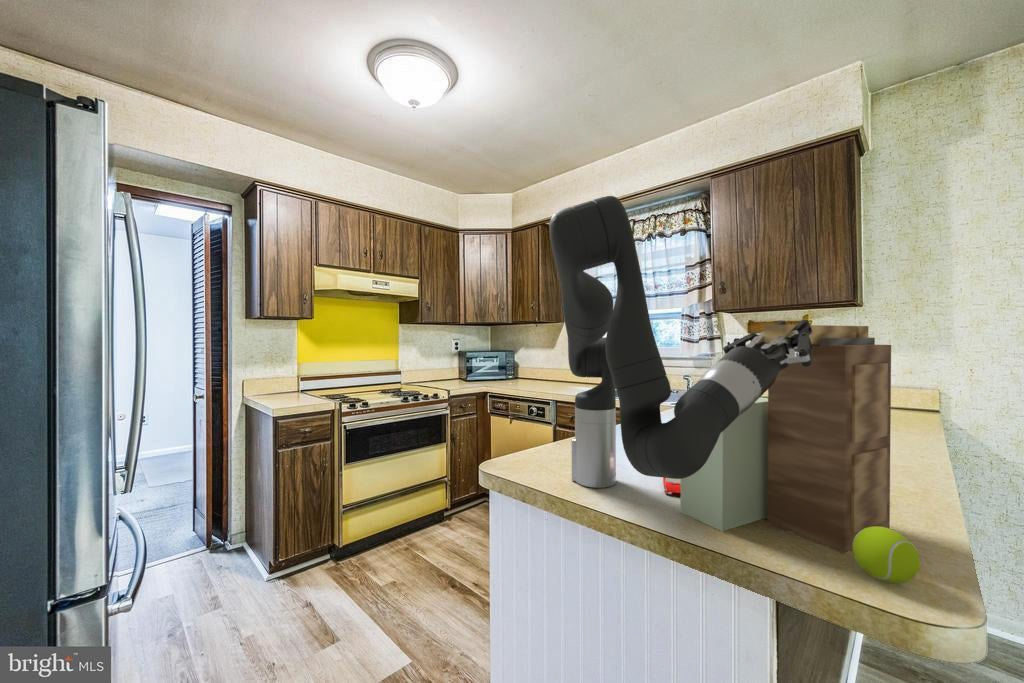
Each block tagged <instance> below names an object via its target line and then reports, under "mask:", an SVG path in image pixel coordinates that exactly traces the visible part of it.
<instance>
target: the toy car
mask: <svg viewBox="0 0 1024 683" xmlns="http://www.w3.org/2000/svg"><path fill="white" fill-rule="evenodd" d="M662 484H663V489H665V490H664V493H666V494H665V495H666V496H668V495H669V497H674V496H676V498H681V479H672V478H663V477H662Z"/></svg>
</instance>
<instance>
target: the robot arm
mask: <svg viewBox="0 0 1024 683" xmlns="http://www.w3.org/2000/svg"><path fill="white" fill-rule="evenodd" d="M548 230H549V239H550V245H551V248H552V249H551V250H552V255H553V258H554V262H555V266H556V272H557V275H558V279H559V284H560V292H561V304H562V313H563V321H564V324H565V325H564V327H565V329H566V330H565V331H566V335H567V354H568V358H567V359H568V366H569V369H570V371H571V373H572V374H573V375H574V376H575V377H578V378H601V381H600V383H599V384H598V385H595V386H594V387H592V388H590V389H588V390H585V391H581V392H578V393H577V394H576V395H575V397H574V432H575V433H574V438H573V439H571V481H573V482H576V483H577V484H578V485H581V486H583V487H587V488H593V489H594V488H595V489H596V488H597V489H599V488H602V489H603V488H610V487H612V486H614V485H616V483H617V469H616V468H617V459H616V458H617V455H616V454H617V449H616V448H617V446H616V444H617V438H616V437H617V436H616V434H617V431H616V429H617V428H616V427H617V422H616V421H617V420H616V419H617V418H616V416H617V415H616V414H617V413H616V411H617V410H616V408H617V407H616V405H617V404H616V395H617V397H618V401H619V420H620V421H619V422H620V433H621V441H622V447H623V451H624V453H625V455H626V457H627V460H628V461H629V463H630V465H631V466H632V467H633V469H634V470H636V471H637V472H638V473H639V474H641V475H644V476H647V477H653V478H662V479H663V478H672V479H682V478H686V477H689V476H691V475H693V474H694V473H696V472H697V471H698V470H700V469H701V468H702V467H703V466H704V464H705V463H706V462H707V460H708V458H709V456H710V454H711V452H712V450H713V448H714V447H715V445H716V443H717V440H718V438H719V436H720V433H721V432H723V431H724V430H725V429H726V428H727V427H728V426H729V425H730V424H731V423H732V422H733V421H734V420H735V419H736V418H737V417H738V416H739V415H741V414H742V413H744V412H745V411H746V410H748V409H749V408H750V407H751V406H752V405H753V404H754V403H755V402H756V401H757V400H758V399H759V398H760V397H763V395H764V394H765V393H766V392H767V391H768V389H769V388H770V387H771V386H772V385H773V384H774V382H775V380H776V377H777V374H778V372H779V371H780V370H782V369H785V368H786V367H788V366H789V364H790V363H797V362H801V364H802V366H804V367H806V366H810V365H811V364H812V352H813V346H812V343H811V340H810V337H809V335H810V334H811V333H812V328H811V325H812V324H811V323H810V322H809V320H808V319H807V320H806V319H803V320H800V322H798V323H797V324H796V325H797V326H796V327H795V328H793V329H792V330H791V332H789V333H788V334H786V335H785V336H779V337H777V338H776V339H774V340H773V341H771V342H770V343H766V342H765V337H764V330H763V331H761V332H760V333H759V334H757V332H750V333H749V334H746V335H744V336H742V337H740V338H739V339H737V340H735V341H733V342H731V343H729V344H727V345H725V346H723V347H722V350H723V353H724V355H723V356H722V357H721V358H720V359H719V360H718V361H716V362H715V363H714V364H713V365H712V366H711V367H710V368H708V370H706V371H705V372H704V374H702V375H701V377H700V379H698V380H697V382H696V383H695V384H694V385H692V387H690V388H689V389H688V390H687V391H686V392H684V394H682V395H681V396H680V398H678V399H677V401H676V402H675V405H674V407H673V414H674V417H673V418H672V419H670V420H668V421H666V422H662V416H661V415H662V414H661V404H664V403H665V402H666V401H667V400H669V398H670V397H671V394H672V389H671V385H670V381H669V377H668V374H667V372H666V368H665V365H664V361H663V360H662V357H661V354H660V350H659V347H658V346H657V342H656V338H655V335H654V331H653V328H652V323H651V318H650V313H649V308H648V302H647V298H646V297H647V296H646V291H645V285H644V281H643V277H642V276H643V275H642V272H641V266H640V261H639V257H638V252H637V246H636V242H635V238H634V233H633V230H632V225H631V221H630V219H629V215H628V212H627V210H626V208H625V206H624V204H623V203H622V201H620V198H618V197H616V196H613V195H607V196H606V195H605V196H603V197H602V196H601V197H598V198H595V199H591V200H587V201H586V202H582V203H579V204H576V205H572V206H568V207H566V208H563V209H560V210H558V211H556V212H555V213H554V214H553V215H552V216H551V217H550V221H549V229H548ZM610 263H613V264H614V267H615V272H616V279H617V280H616V281H617V283H616V284H617V288H616V296H615V302H614V298H613V295H612V293H611V291H610V289H609V288H608V287H607V285H605V284H604V283H603V282H601V281H600V280H599V279H598V278H596V277H594V276H592V275H591V274H589V273H587V272H585V271H586V270H590V269H593V268H596V267H600V266H603V265H606V264H610ZM774 325H787V322H786V321H785V320H778V321H777V322H776V323H774ZM604 336H606V337H604ZM749 341H750V343H747V342H749ZM790 341H792V344H791V343H790Z"/></svg>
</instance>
